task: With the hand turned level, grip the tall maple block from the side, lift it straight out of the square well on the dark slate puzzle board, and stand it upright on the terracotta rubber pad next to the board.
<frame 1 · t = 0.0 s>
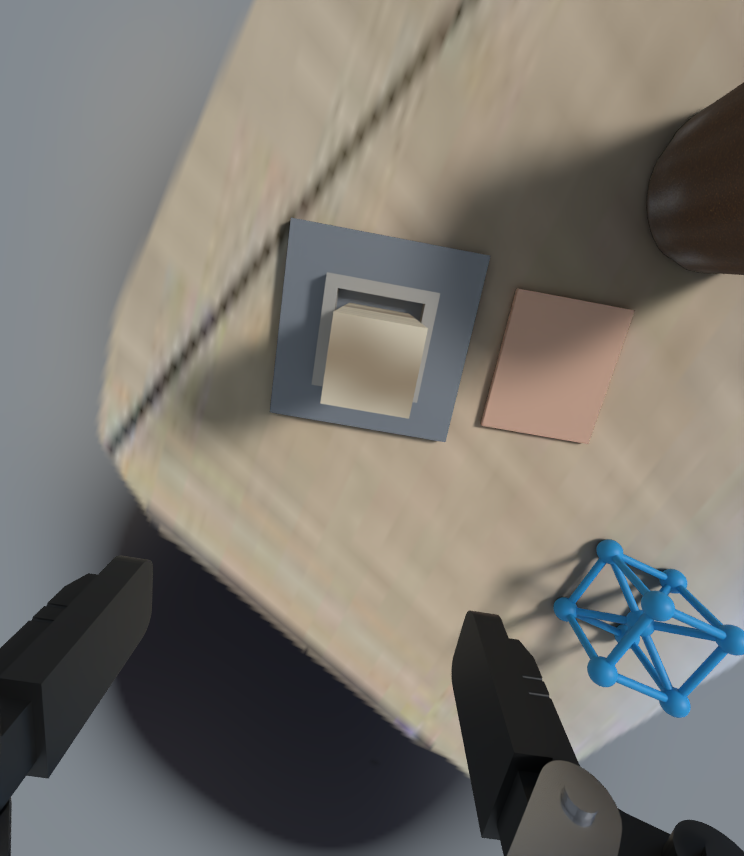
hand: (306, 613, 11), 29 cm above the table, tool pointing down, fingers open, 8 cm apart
molecular structure: (611, 586, 46), on the table
plant pot: (723, 189, 34), on the table
puzzle board: (374, 337, 38), on the table
terracotta pad: (552, 369, 38), on the table
maple block: (373, 338, 37), point 1 cm above the table, touching puzzle board
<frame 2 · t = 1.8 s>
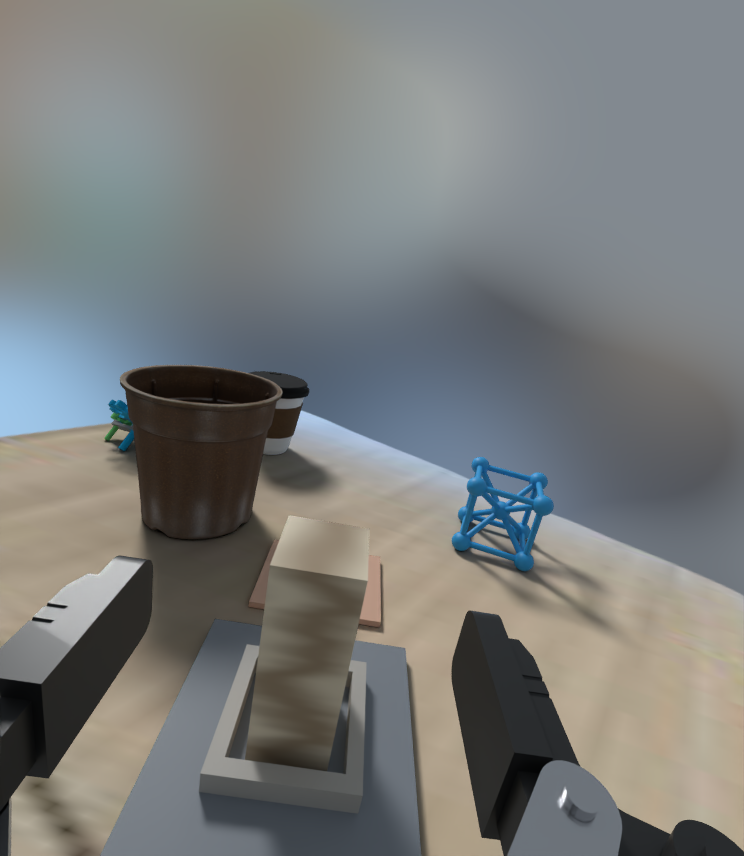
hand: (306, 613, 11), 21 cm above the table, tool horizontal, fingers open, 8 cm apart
coffee cup: (268, 448, 74), on the table
gear: (139, 445, 67), on the table
molecular structure: (490, 544, 58), on the table
plant pot: (197, 513, 52), on the table
puzzle board: (291, 736, 29), on the table
terracotta pad: (321, 581, 44), on the table
maple block: (293, 725, 29), point 1 cm above the table, touching puzzle board
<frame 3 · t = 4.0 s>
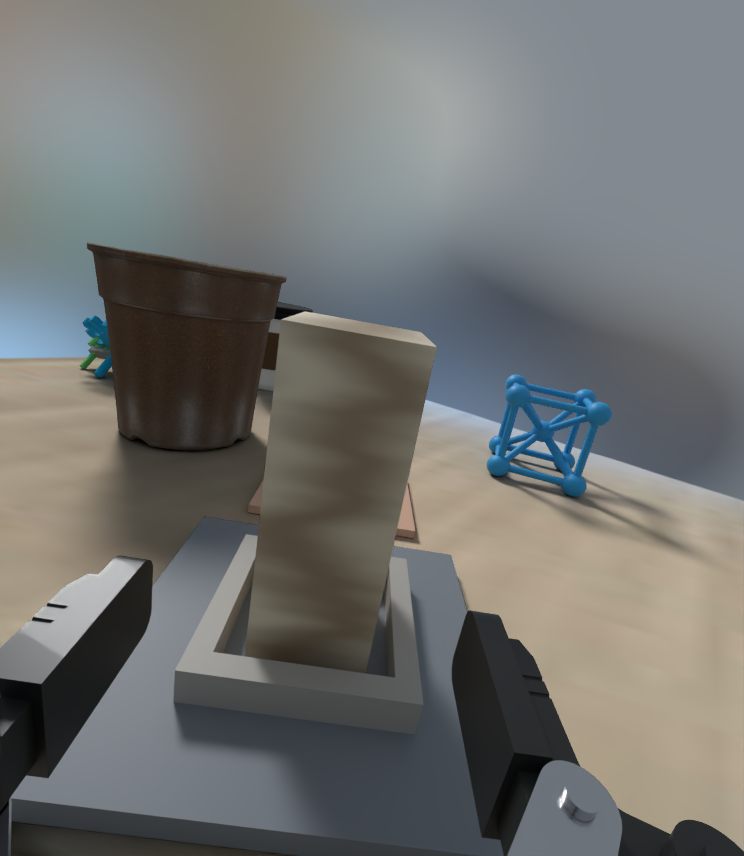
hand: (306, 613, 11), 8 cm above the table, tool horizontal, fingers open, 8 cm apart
coffee cup: (269, 386, 66), on the table
gear: (119, 375, 58), on the table
molecular structure: (529, 474, 49), on the table
plant pot: (186, 430, 44), on the table
puzzle board: (309, 645, 21), on the table
terracotta pad: (337, 494, 36), on the table
maple block: (312, 628, 20), point 1 cm above the table, touching puzzle board
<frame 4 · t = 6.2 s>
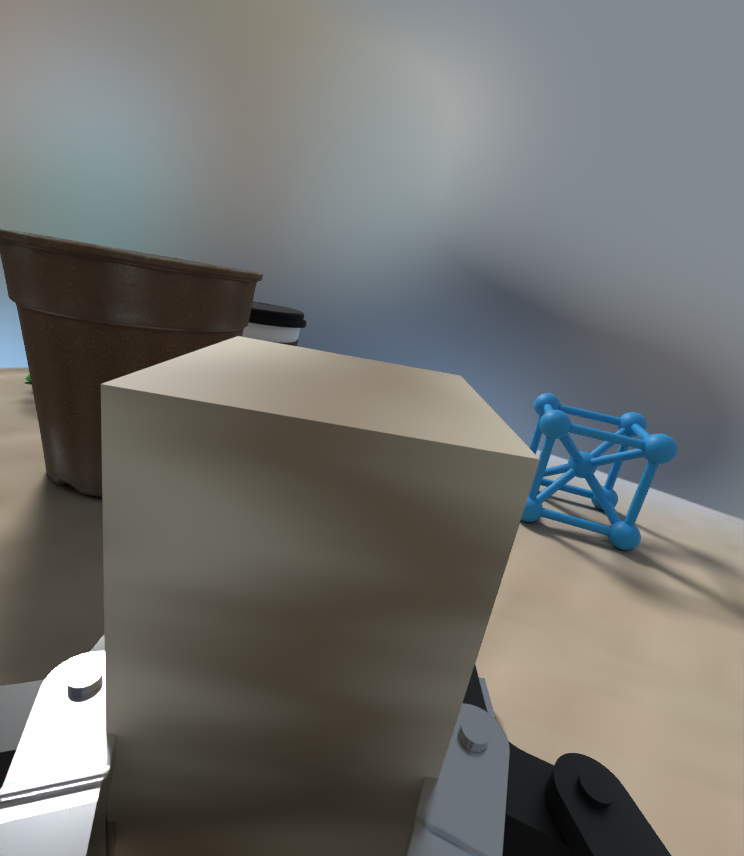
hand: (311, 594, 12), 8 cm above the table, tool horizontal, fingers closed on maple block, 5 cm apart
coffee cup: (253, 401, 57), on the table
molecular structure: (564, 515, 40), on the table
plant pot: (139, 466, 35), on the table
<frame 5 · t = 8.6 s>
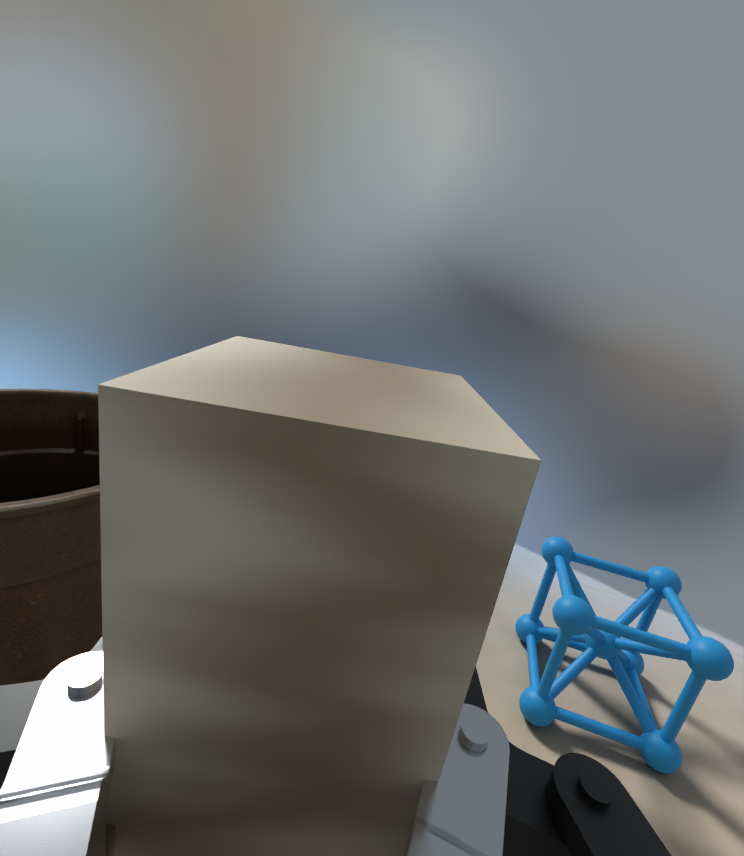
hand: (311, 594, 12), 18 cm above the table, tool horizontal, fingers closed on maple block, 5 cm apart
molecular structure: (580, 695, 33), on the table
plant pot: (35, 676, 27), on the table
when the fingers open (9 cm above the table, at t = 11.0 s): maple block drops 1 cm, resting on terracotta pad.
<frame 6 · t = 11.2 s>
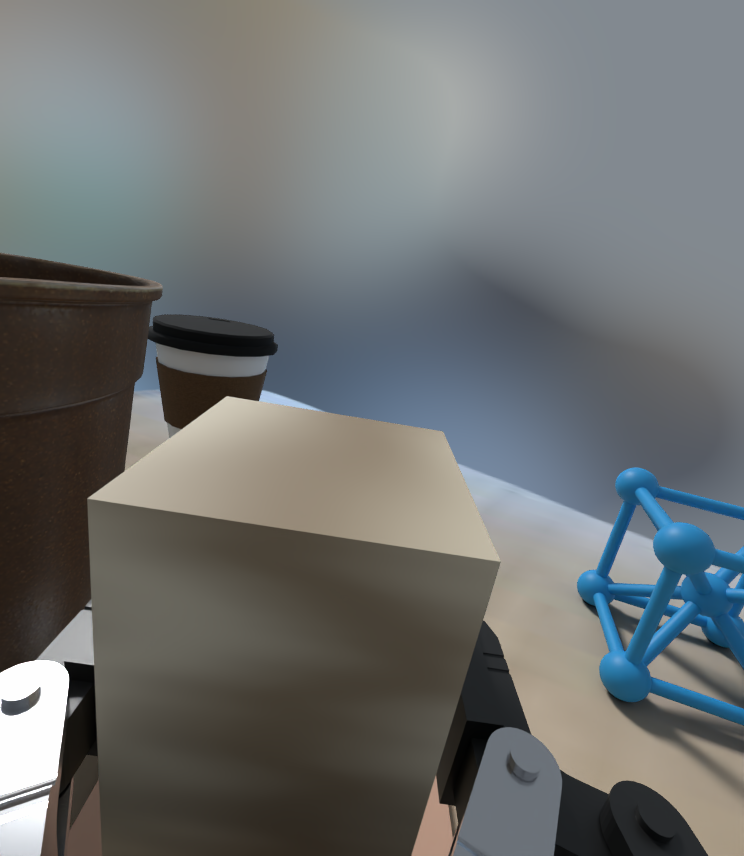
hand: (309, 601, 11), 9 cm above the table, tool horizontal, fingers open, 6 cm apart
coffee cup: (207, 452, 42), on the table
molecular structure: (670, 667, 26), on the table
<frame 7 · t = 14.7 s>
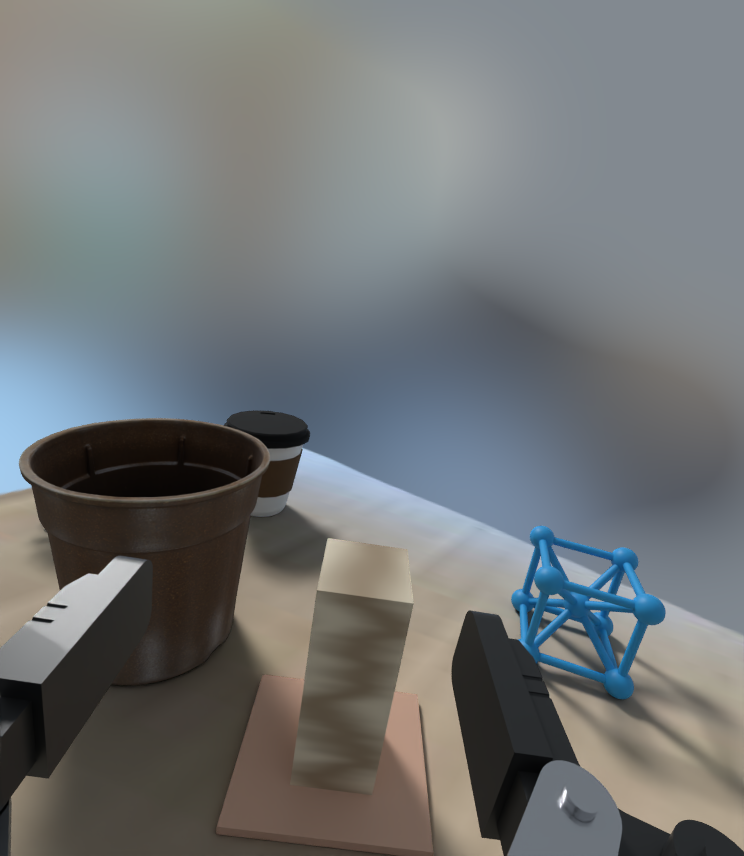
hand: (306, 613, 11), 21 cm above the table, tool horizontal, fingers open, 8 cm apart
coffee cup: (260, 507, 59), on the table
molecular structure: (561, 649, 42), on the table
plant pot: (156, 627, 37), on the table
terracotta pad: (333, 755, 29), on the table
maple block: (335, 748, 29), point 1 cm above the table, touching terracotta pad
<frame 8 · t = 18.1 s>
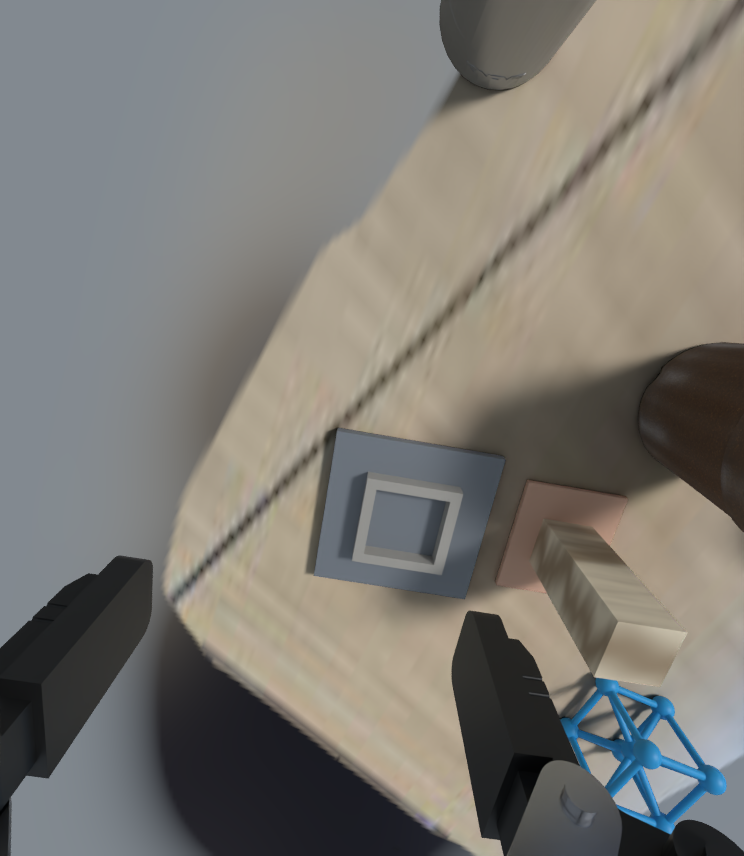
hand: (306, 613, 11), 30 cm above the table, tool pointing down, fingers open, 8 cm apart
molecular structure: (608, 707, 52), on the table
plant pot: (703, 406, 40), on the table
puzzle board: (404, 515, 44), on the table
terracotta pad: (557, 540, 45), on the table
maple block: (560, 544, 44), point 1 cm above the table, touching terracotta pad
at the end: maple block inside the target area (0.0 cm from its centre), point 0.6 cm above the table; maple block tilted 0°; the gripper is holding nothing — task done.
